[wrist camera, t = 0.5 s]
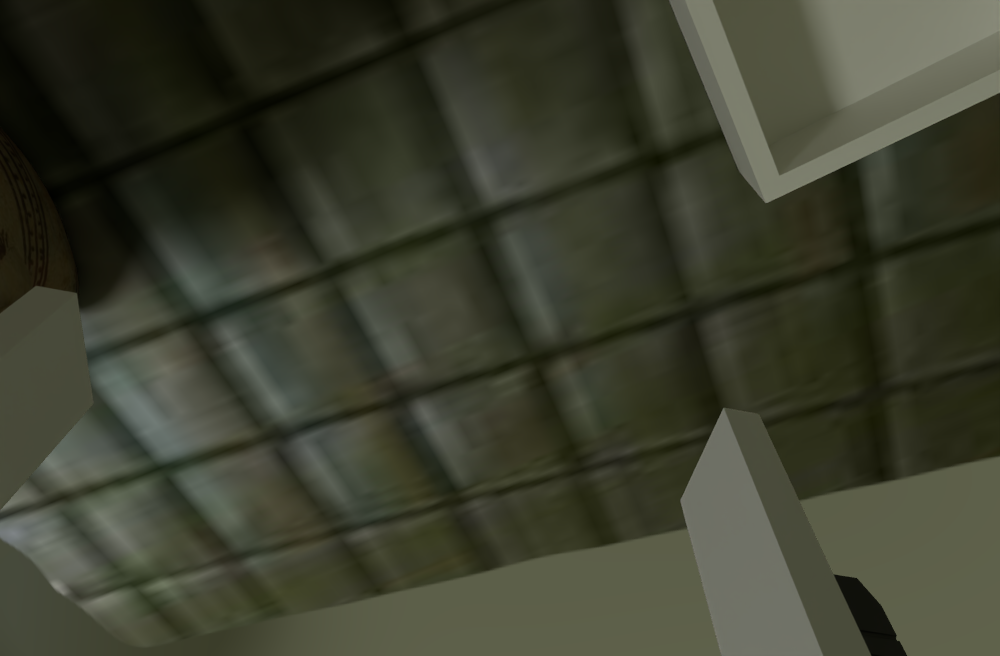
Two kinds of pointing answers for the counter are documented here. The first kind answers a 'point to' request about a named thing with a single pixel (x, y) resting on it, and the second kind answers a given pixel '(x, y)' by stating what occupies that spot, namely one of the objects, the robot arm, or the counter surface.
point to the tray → (835, 76)
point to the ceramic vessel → (29, 232)
